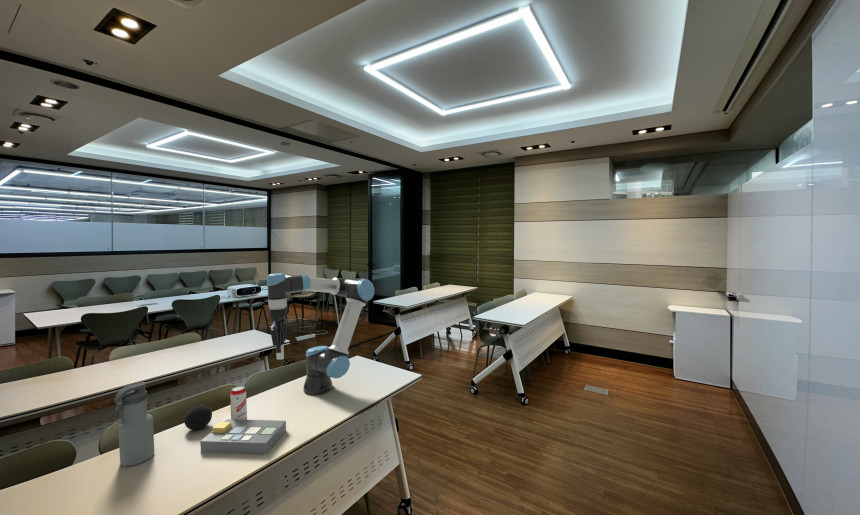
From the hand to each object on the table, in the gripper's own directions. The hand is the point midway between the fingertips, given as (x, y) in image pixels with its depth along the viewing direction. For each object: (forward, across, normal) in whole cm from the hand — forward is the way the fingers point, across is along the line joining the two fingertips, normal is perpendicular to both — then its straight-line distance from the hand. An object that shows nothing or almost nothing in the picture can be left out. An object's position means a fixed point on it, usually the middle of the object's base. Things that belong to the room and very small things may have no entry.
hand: (280, 358), depth 154 cm
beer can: (+28, +5, -18) cm, 33 cm away
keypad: (+27, +18, -7) cm, 34 cm away
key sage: (+25, +18, +3) cm, 32 cm away
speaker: (+28, +10, -33) cm, 44 cm away
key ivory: (+25, +18, -4) cm, 31 cm away
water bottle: (+27, +31, -41) cm, 58 cm away
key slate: (+25, +18, -10) cm, 33 cm away
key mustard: (+23, +18, -17) cm, 34 cm away
